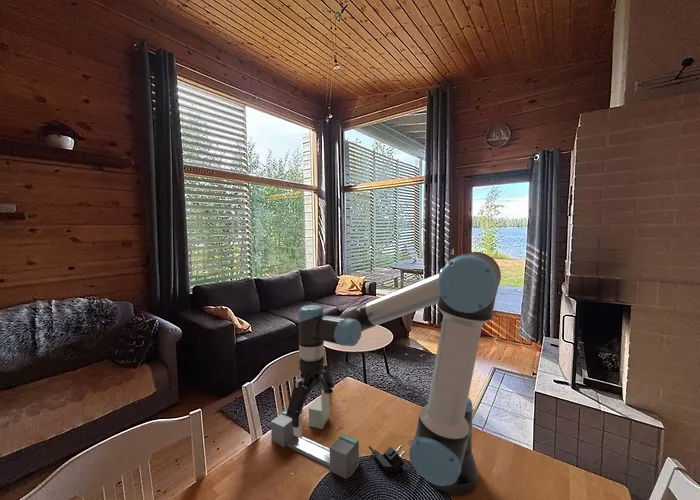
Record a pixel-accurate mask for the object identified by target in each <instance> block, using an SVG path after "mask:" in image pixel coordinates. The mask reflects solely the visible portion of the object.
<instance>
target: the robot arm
mask: <svg viewBox="0 0 700 500" xmlns="http://www.w3.org/2000/svg"><path fill="white" fill-rule="evenodd" d="M501 279H502V275H501V269H500V266H499V265H498V263H497V262H496V259H494V258H493V257H491V256H489V255H488V254H487V253H484V252H479V251H473V252H471V251H470V252H466V253H464V254H461V255H458V256H455V257H453V258H452V259H449V261H448V262H446V264H445V265H444V266H443V267H441V268H440V270H439V273H438V272H437V273H436V274H434V275H431V276H429V277H426V278H424V279H421V280H419V281H417V282H415V283H412V284H410V285H407V286H405V287H403V288H400V289H398V290H395V291H393V292H391V293H388V294H386V295H384V296H381V297H378V298H376V299H373V300H371V301H369V302H368V303H365V304H361V305H358V306H356V307H354V308H353V309H351V310H349V311H346V312H344V313H342V314H340V315H329V314H324V313H325V312H324V308H323V306H322V305H321V306H320V305H317V304H310V305H309V304H308V305H303V306H301V307H300V308H299V309H298V321H297V324H298V325H297V326H298V347H299V348H298V350H299V351H298V353H299V355H298V356H299V359H298V360H299V361H298V365H299V367H298V368H299V371H300V373H301V378H299V379H296V378H295V379H294V380H293V389H292V392H291V395H290V398H289V399H290V400H289V402H288V406H287V409H286V411H287V413H286V415H287V416H289V417H291V418H292V426H293V432H294V435H295V436H297V437H299V438H302V437H303V415H302V414H301V413H302V410H303V407H304V405H305V402H306V400H307V397H308V394H310V393H311V391H312V389H313V388H315V387H316V386H318V387H320V389H322V392H321V401H322V412H324V413H327V414H328V415H329V414H331V413H330V412H331V411H330V405H331V404H330V401H331V394H332V393H334V392H333V391H334V390H333V389H334V388H335V384H334V382H333V379H332V375H331V374H330V372H329V365H328V364H325V356H324V355H325V345H324V343H325V342H327V343H331V344H336V345H338V346H339V345H340V346H346V347H354V346H356V345H357V344H358V343H359V341H360V339H361V337H362V332H364V331H366V330H369V329H371V328H375V327H376V326H379V325H382V324H383V323H386V322H389V321H392V320H395V319H398V318H400V317H404V316H407V315H409V314H412V313H414V312H415V313H416V312H417V311H420V310H422V309H426V308H428V307H431V306H434V305H436V304H438V305H437V309H438V310H439V311H440V312H441V314H442V321H441V328H440V333H439V338H438V344H437V350H436V356H435V361H434V367H433V371H432V372H433V374H432V378H431V384H430V389H429V394H428V395H429V396H428V401H427V404H426V405H424V406H423V407H421V409H420V410H419V415H418V418H417V419H418V420H417V426H416V431H415V435H414V438H413V439H412V440H411V441H410V446H409V451H408V453H409V454H408V455H409V456H408V457H409V459H410V460H409V461H410V463H411V464H412V467H414V468H415V469H416V472H417V473H418V474H419V476H421V477H422V478H423V479H424V480H426V481H427V482H428V483H430V484H431V485H432V486H433V487H435V488H436V489H438V490H439V491H442V492H445V494H446V493H447V494H450V495H466V494H468V493H471V492H473V491H474V490H475V489H476V488H477V486H478V482H479V471H478V466H477V464H476V460H475V457H474V453H473V451H472V450H473V449H472V447H473V443H472V442H473V440H472V438H473V413H474V409H473V402H472V400H471V398H470V397H469V396H470V389H471V387H472V381H473V374H474V371H475V364H476V359H477V353H478V349H479V344H480V339H481V334H482V328H483V325H485V324H486V323H489V322H490V321H491V320H492V318H493V317H492V315H493V312H494V308H495V303H496V302H495V301H496V297H497V293H498V289H499V285H500V283H501Z"/></svg>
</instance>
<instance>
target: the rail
mask: <svg viewBox="0 0 700 500" xmlns="http://www.w3.org/2000/svg"><path fill="white" fill-rule="evenodd" d="M285 447H289V448H290V449H292V450H293V451H295V452H297V453H299V454H301V455H304V456H305V457H307V458H310V459H311V460H313V461H315V462H318V463H319V464H321V465H323V466H325V467H328V468H329V469H330V447H327V446H324V445H322V444H320V443H318V442H316V441H313V440H311V439H309V438H307V437H305V436H302V438H299V437H297V436H294V437H293V438H292V439H291V440H289V441H287V442H286V446H285ZM359 463H360V461H359V462H358V461H357V462H356V464H355V465H354V467H353V468H352V469H351V470H350V471H349V472H348V478H351V476H352V475H353V474H354V473H355V471H356V470H357V469H358V468H359Z"/></svg>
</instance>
